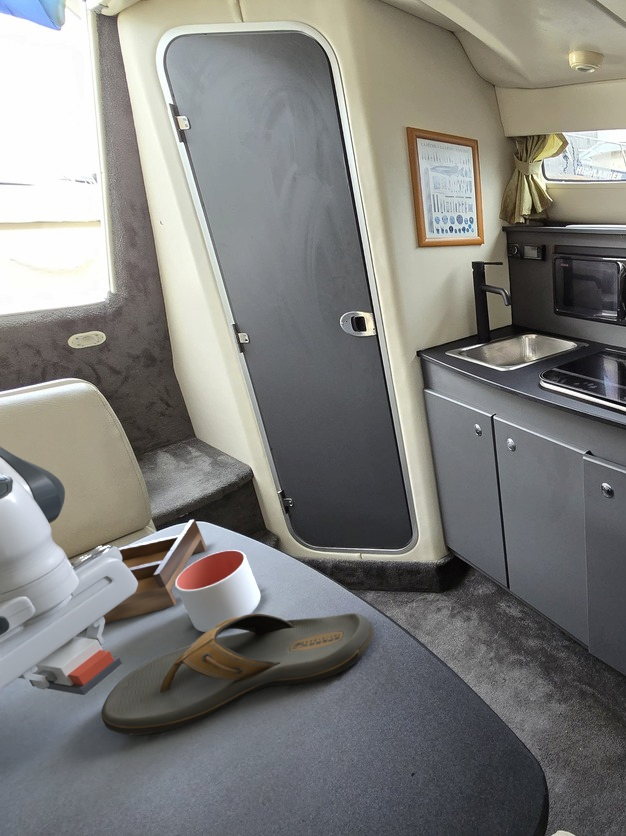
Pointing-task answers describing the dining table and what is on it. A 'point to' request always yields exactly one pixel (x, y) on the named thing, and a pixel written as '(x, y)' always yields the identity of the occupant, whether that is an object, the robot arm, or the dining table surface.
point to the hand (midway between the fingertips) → (72, 665)
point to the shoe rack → (156, 571)
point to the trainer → (78, 665)
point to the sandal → (233, 669)
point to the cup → (218, 589)
